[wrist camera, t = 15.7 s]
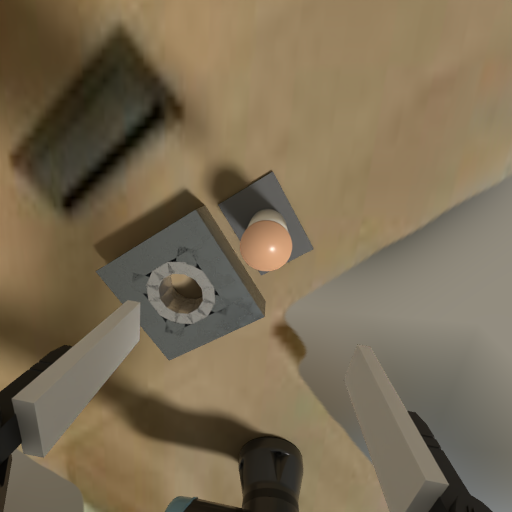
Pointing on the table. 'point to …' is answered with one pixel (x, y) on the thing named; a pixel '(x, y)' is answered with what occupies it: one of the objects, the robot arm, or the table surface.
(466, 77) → the table surface
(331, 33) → the table surface
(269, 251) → the capped white peg
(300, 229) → the rubber mat
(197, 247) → the housing
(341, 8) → the table surface
